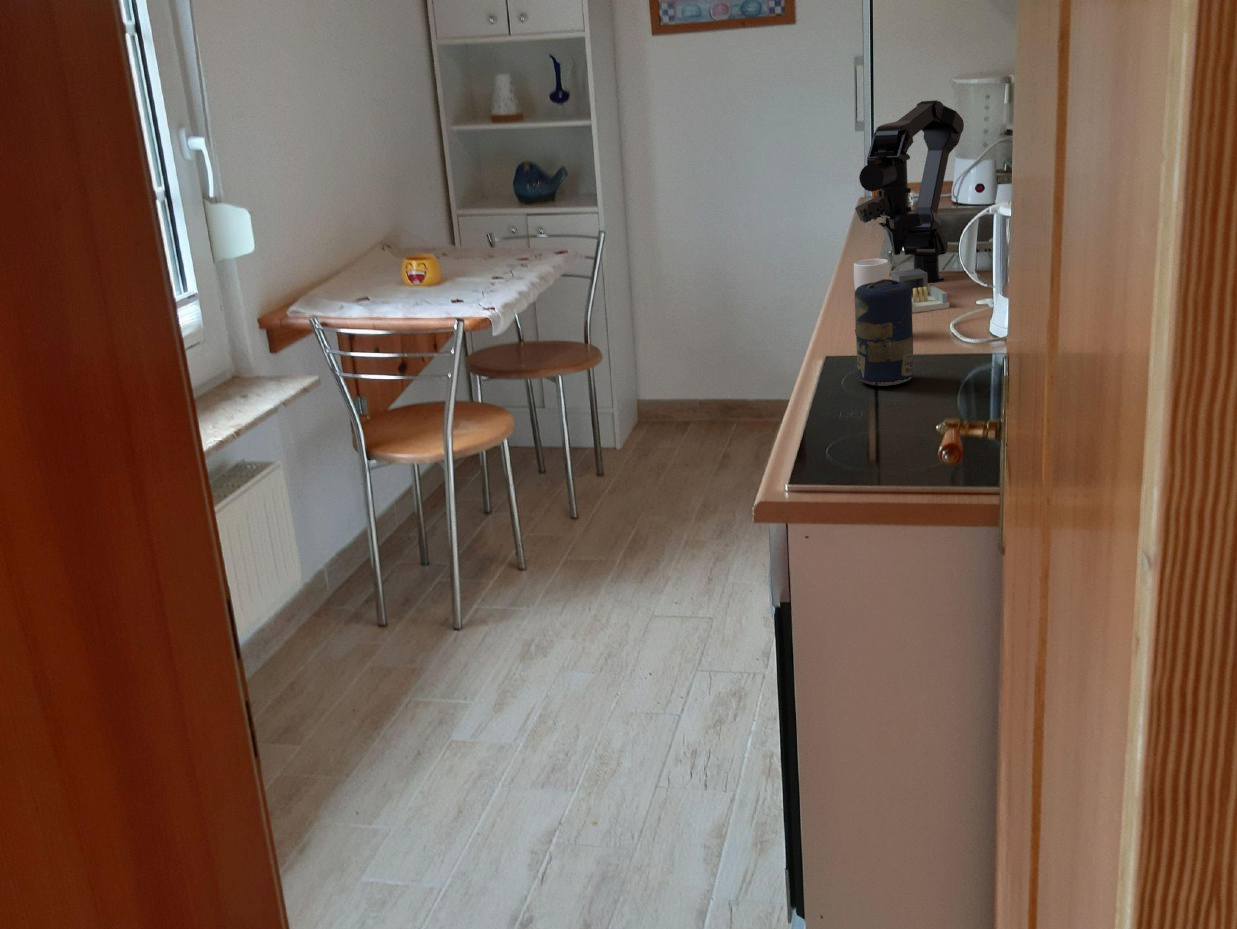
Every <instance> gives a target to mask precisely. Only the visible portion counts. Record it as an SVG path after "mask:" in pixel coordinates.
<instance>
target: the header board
mask: <svg viewBox="0 0 1237 929" xmlns="http://www.w3.org/2000/svg"><path fill="white" fill-rule="evenodd" d="M943 309H944V310H945V309H950V302H949V301H948V293H947V292H946V291H944V290H942V289H940V288H938V287H936V286H935V283H930V284H929V288H927V287H923V291H922V287H919V288H918V293H917V288H913V293H912V314H913V313H922V312H928V311H935V310H936V311H937V310H943Z"/></svg>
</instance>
